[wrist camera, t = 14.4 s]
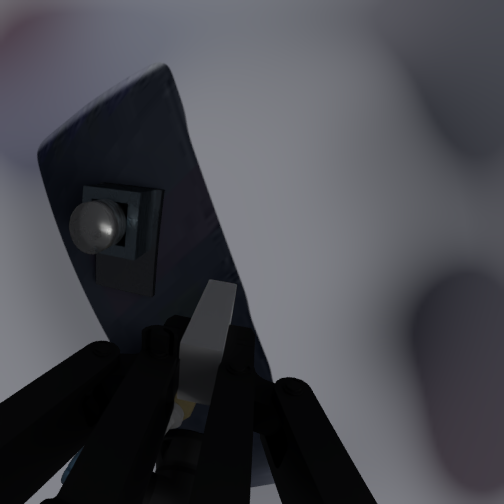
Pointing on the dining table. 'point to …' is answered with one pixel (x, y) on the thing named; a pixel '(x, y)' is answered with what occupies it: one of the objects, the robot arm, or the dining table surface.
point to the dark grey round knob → (98, 225)
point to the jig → (130, 238)
